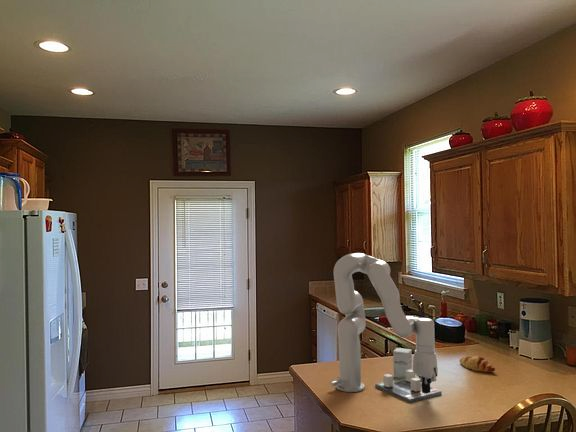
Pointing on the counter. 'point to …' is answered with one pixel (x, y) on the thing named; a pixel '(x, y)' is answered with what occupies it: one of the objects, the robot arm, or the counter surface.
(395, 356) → the supplement box
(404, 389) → the panel
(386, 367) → the counter surface
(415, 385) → the block
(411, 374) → the block
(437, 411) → the counter surface
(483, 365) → the croissant
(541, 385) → the counter surface
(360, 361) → the robot arm
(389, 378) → the block
